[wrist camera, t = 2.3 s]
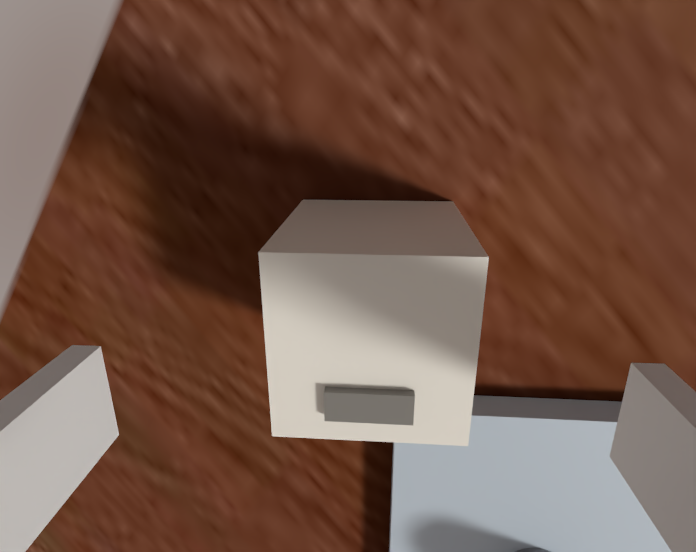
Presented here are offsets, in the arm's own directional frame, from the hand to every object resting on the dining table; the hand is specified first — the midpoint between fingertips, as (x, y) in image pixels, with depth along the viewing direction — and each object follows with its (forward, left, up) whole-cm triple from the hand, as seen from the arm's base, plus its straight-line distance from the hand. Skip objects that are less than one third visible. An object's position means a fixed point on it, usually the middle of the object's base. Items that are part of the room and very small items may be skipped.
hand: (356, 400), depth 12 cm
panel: (+15, +8, -9) cm, 19 cm away
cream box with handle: (0, 0, -9) cm, 9 cm away
